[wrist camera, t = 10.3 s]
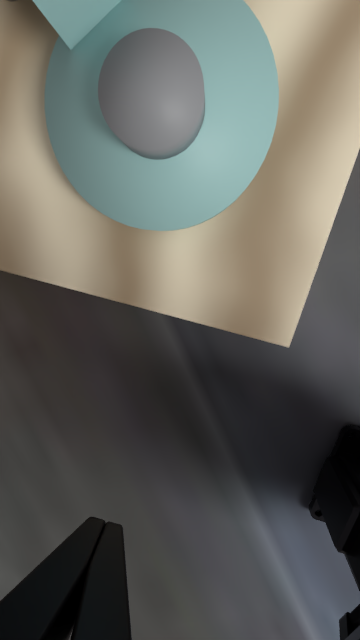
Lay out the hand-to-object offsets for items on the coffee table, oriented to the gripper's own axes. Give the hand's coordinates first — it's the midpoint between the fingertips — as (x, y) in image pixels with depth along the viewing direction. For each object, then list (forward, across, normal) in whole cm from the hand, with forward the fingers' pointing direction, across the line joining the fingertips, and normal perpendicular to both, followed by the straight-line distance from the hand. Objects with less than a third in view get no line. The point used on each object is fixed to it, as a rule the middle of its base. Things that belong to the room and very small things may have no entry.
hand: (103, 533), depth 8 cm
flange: (+11, +5, -14) cm, 18 cm away
